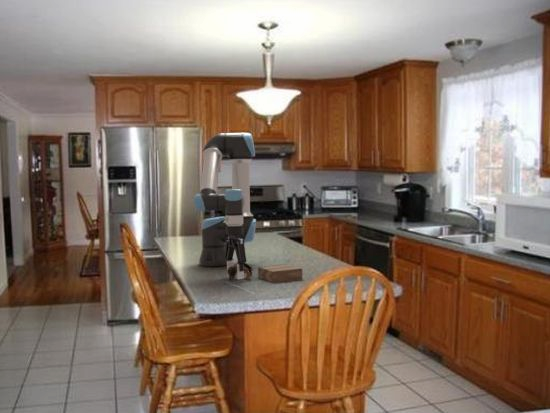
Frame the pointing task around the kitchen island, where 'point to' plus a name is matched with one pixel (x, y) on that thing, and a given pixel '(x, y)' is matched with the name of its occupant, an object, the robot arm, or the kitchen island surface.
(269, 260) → the kitchen island surface
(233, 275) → the brown piece
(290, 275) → the walnut riser block
